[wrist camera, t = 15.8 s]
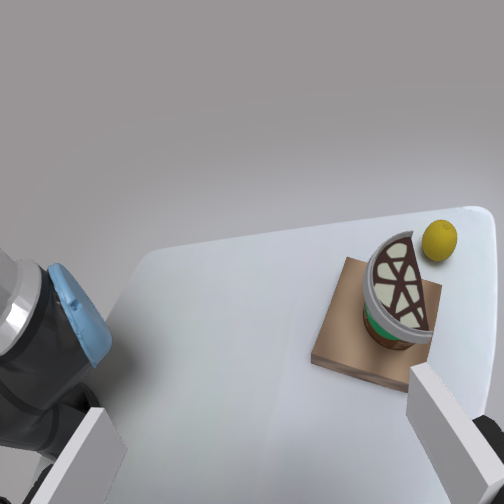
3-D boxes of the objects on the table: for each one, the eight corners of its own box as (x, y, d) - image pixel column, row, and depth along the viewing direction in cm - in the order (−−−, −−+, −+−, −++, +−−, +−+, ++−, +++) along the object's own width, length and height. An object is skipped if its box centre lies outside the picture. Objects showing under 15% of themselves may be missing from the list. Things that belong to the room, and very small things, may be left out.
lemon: (432, 235, 48) (446, 204, 41) (453, 259, 45) (470, 230, 38) (410, 250, 47) (422, 219, 40) (431, 276, 44) (447, 248, 37)
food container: (349, 273, 41) (358, 228, 33) (394, 271, 40) (412, 226, 32) (356, 366, 34) (372, 343, 26) (405, 362, 33) (434, 337, 25)
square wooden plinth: (311, 363, 41) (311, 353, 36) (343, 277, 47) (346, 256, 42) (405, 393, 36) (419, 386, 31) (428, 303, 42) (442, 285, 37)
